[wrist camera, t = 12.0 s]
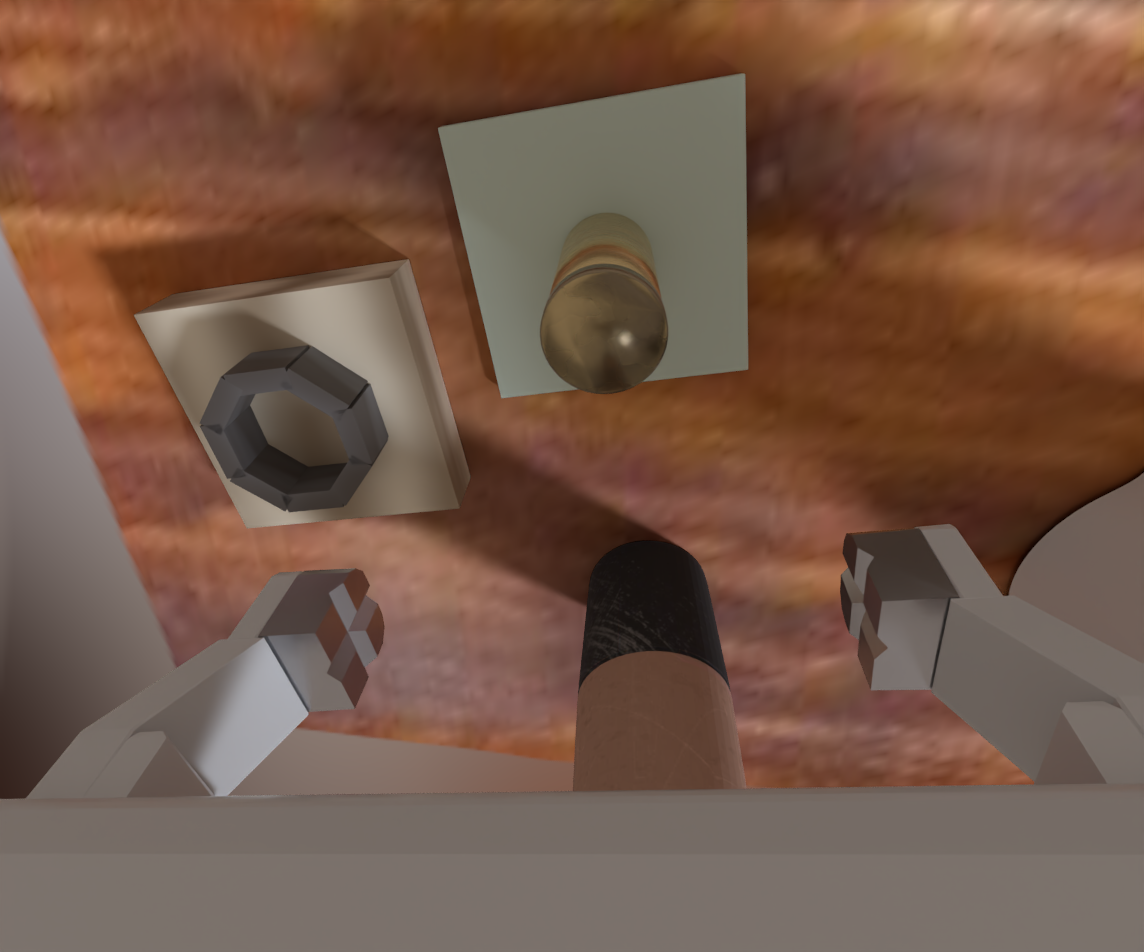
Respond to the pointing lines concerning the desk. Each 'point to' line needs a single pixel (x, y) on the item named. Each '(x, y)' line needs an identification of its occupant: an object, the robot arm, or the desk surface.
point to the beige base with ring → (315, 394)
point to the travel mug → (653, 678)
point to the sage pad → (609, 185)
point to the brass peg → (605, 307)
